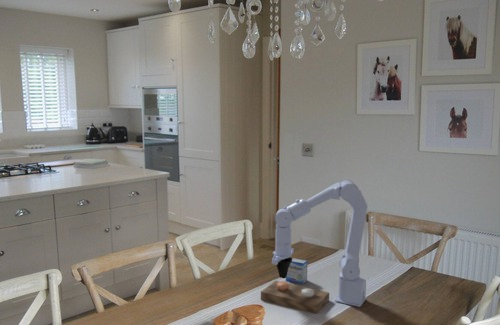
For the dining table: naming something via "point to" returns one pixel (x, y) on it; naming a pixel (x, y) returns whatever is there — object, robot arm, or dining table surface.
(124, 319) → the dining table surface
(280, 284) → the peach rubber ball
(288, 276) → the medicine box
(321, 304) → the board
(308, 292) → the white egg
